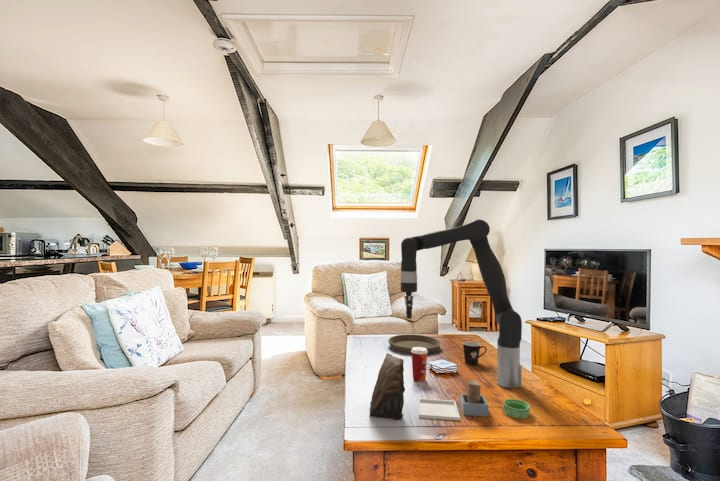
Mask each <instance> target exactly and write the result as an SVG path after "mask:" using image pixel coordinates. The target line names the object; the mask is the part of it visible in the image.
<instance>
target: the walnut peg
mask: <svg viewBox="0 0 720 481" xmlns="http://www.w3.org/2000/svg"><path fill="white" fill-rule="evenodd" d="M466 381H467V382H466V384H467V385H466V386H467V387H466V390H467V391H466V394H467V403H480V395H481V383H480V382H479V380H468V379H467V380H466Z"/></svg>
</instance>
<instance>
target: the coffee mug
mask: <svg viewBox="0 0 720 481" xmlns="http://www.w3.org/2000/svg"><path fill="white" fill-rule="evenodd" d="M462 346H463V348H462V349H463V356H464V357H463V358H464V363H465V364H466V365H470V366H477V365H478V364H479V358H481V357H482V356H484V355H485V353H487V347H486V346H483V345H481V344H480V343H478V342H474V341H465V342H464V341H463V343H462ZM481 348H484V349H485V350H484V351H483V353H481V354H480V350H481Z"/></svg>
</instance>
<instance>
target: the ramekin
mask: <svg viewBox="0 0 720 481" xmlns="http://www.w3.org/2000/svg"><path fill="white" fill-rule="evenodd" d="M503 410H504V413H505V414H506V415H507V416H509V417H512V418H515V419H526V418H529V417H530V416H529V415H530V410H531V405H530V404H529V403H528V402H526V401H524V400H521V399H516V398H510V399H509V398H507V399H505V400H503Z"/></svg>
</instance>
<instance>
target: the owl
mask: <svg viewBox="0 0 720 481" xmlns="http://www.w3.org/2000/svg"><path fill="white" fill-rule="evenodd" d="M404 362H405V360H404V359H403V358H399V357H396V356H393V354H391V353H386V354H385V358H383V362H382V364H381V366H380V369H379V371H378V375H377V379H376V381H375V382H376V383H375V385H374V388H373V392H372V395H371V400H370V404H369V406H370V407H369V417H371V418H377V419H386V420H393V421H400V420H403V418H404V414H403V408H404V404H405V398H404V397H405V396H404V392H405V391H406V387H405V385H404V384H405V381H404V379H405V378H404V371H405V368H404Z"/></svg>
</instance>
